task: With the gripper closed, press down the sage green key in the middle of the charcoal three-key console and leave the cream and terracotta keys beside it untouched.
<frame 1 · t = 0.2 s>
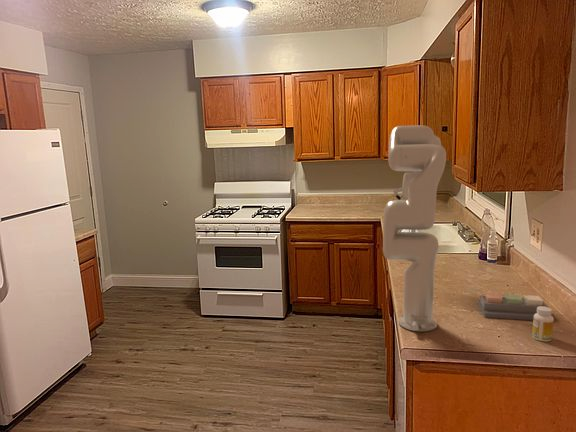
hand: (414, 210, 186), 31 cm above the worktop, tool pointing down, fingers open, 9 cm apart
terracotta key: (493, 300, 157), point 4 cm above the worktop, slide at 0.0 cm
console: (512, 311, 157), on the worktop
sage key: (513, 301, 156), point 4 cm above the worktop, slide at 0.0 cm
supplement bottle: (541, 338, 137), on the worktop
cream key: (533, 302, 154), point 4 cm above the worktop, slide at 0.0 cm
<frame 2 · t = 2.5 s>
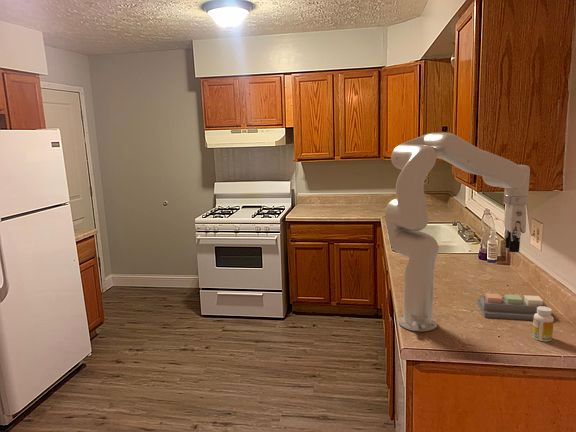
hand: (512, 249, 158), 21 cm above the worktop, tool pointing down, fingers open, 4 cm apart
nothing on the worktop moved.
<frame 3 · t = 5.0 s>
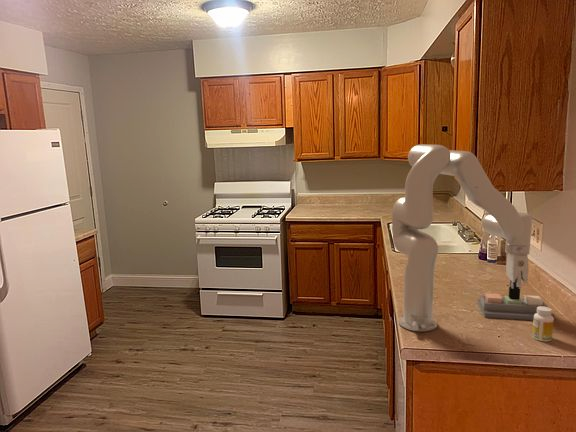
hand: (513, 298, 156), 5 cm above the worktop, tool pointing down, fingers closed
sage key: (512, 302, 156), point 3 cm above the worktop, slide at 0.6 cm, touching gripper
everything else where it was.
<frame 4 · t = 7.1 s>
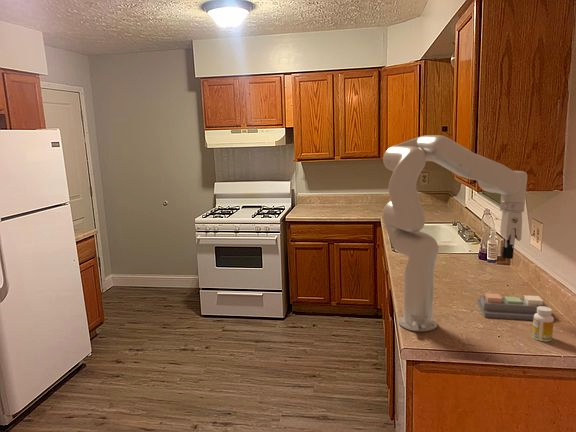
hand: (507, 257, 155), 19 cm above the worktop, tool pointing down, fingers closed
sage key: (512, 303, 156), point 3 cm above the worktop, slide at 0.8 cm
everything else where it was.
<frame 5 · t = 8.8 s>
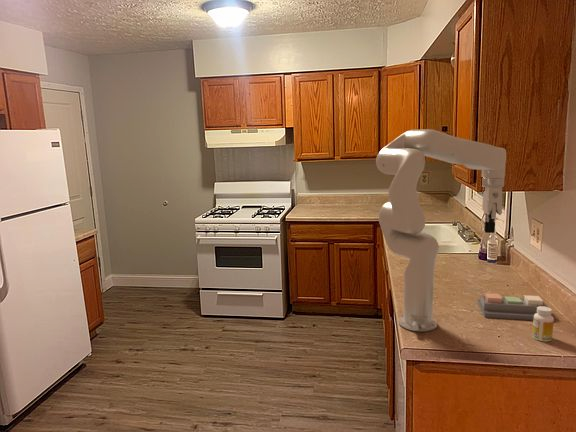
hand: (489, 232, 161), 27 cm above the worktop, tool pointing down, fingers closed
nothing on the worktop moved.
at the end: sage key slide at 0.8 cm; cream key slide at 0.0 cm; terracotta key slide at 0.0 cm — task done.
